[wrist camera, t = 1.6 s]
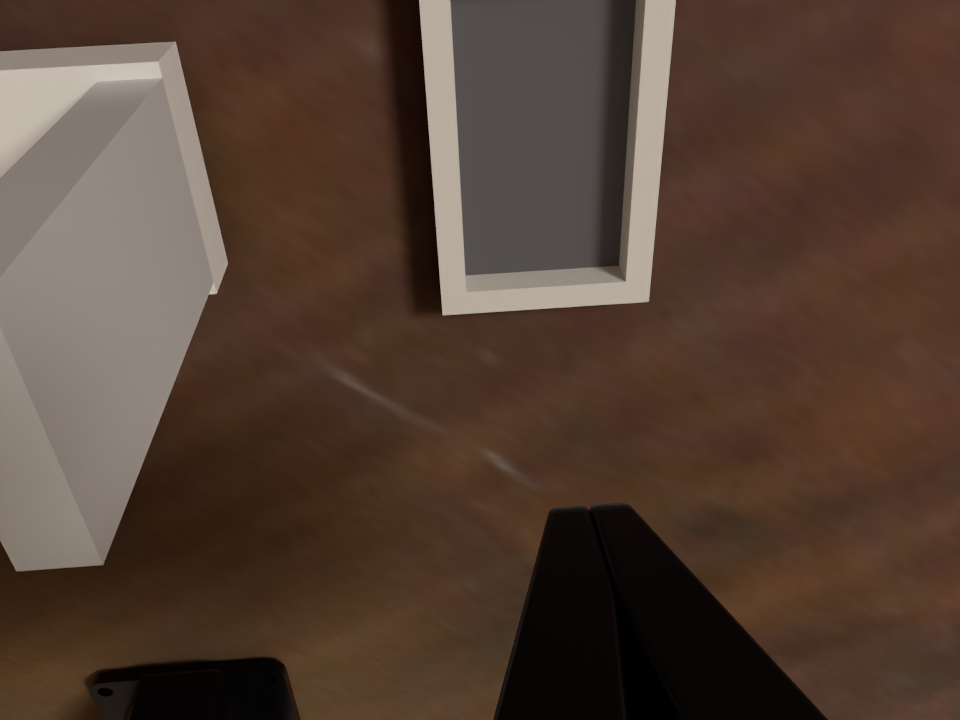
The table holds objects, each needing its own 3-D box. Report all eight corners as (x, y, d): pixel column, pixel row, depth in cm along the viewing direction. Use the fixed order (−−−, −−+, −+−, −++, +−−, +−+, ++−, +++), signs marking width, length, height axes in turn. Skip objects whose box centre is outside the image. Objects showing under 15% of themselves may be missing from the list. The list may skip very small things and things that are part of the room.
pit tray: (640, 281, 21) (648, 301, 20) (441, 294, 21) (442, 315, 20) (668, -73, 17) (681, -64, 16) (415, -59, 17) (415, -50, 16)
